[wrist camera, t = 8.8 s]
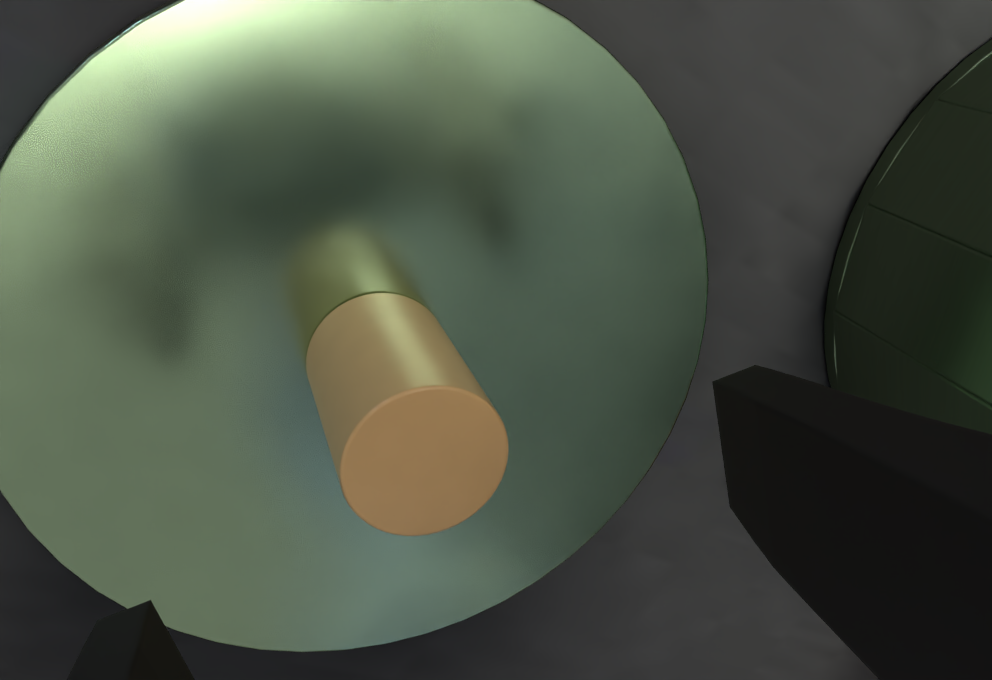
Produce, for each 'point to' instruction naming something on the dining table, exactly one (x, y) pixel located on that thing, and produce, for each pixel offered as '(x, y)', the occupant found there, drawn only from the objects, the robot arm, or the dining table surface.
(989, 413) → the tin
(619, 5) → the dining table surface
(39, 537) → the lid
